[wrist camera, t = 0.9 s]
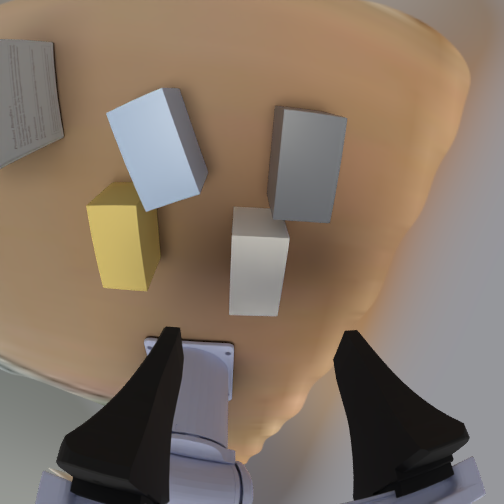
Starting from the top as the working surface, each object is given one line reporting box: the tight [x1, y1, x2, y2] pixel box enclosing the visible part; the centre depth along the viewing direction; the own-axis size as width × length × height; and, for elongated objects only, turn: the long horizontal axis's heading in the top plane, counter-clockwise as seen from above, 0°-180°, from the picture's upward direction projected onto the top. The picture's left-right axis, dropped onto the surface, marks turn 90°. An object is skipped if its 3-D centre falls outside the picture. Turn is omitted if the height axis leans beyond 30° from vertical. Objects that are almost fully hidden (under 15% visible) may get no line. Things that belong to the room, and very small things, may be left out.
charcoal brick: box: [267, 106, 347, 223], centre depth 15 cm, size 6×3×4 cm, turn 176°
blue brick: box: [106, 88, 208, 212], centre depth 15 cm, size 6×3×4 cm, turn 16°
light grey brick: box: [229, 207, 290, 316], centre depth 18 cm, size 6×3×4 cm, turn 176°
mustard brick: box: [86, 182, 161, 291], centre depth 17 cm, size 6×3×4 cm, turn 176°
